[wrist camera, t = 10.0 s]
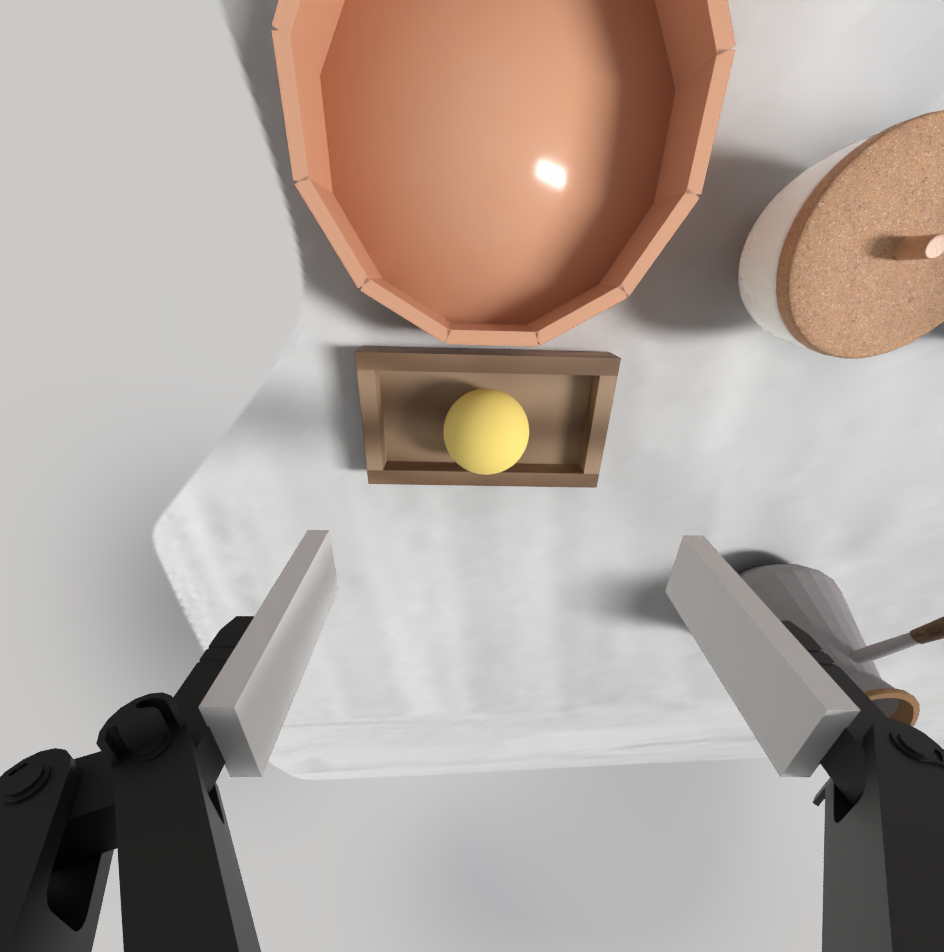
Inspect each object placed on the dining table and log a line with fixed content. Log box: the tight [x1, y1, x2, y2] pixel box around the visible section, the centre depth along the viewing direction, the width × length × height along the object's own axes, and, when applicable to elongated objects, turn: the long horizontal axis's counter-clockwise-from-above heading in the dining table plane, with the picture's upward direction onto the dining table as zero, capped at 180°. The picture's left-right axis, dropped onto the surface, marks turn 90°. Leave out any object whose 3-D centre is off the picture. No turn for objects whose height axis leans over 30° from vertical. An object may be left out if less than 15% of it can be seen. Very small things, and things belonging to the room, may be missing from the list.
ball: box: [444, 388, 529, 475], centre depth 28 cm, size 6×6×6 cm
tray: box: [355, 346, 621, 487], centre depth 30 cm, size 10×18×2 cm, turn 89°
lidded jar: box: [738, 110, 944, 358], centre depth 22 cm, size 11×11×9 cm
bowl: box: [271, 0, 735, 346], centre depth 21 cm, size 21×21×6 cm
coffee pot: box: [738, 564, 944, 726], centre depth 31 cm, size 21×12×15 cm, turn 171°
